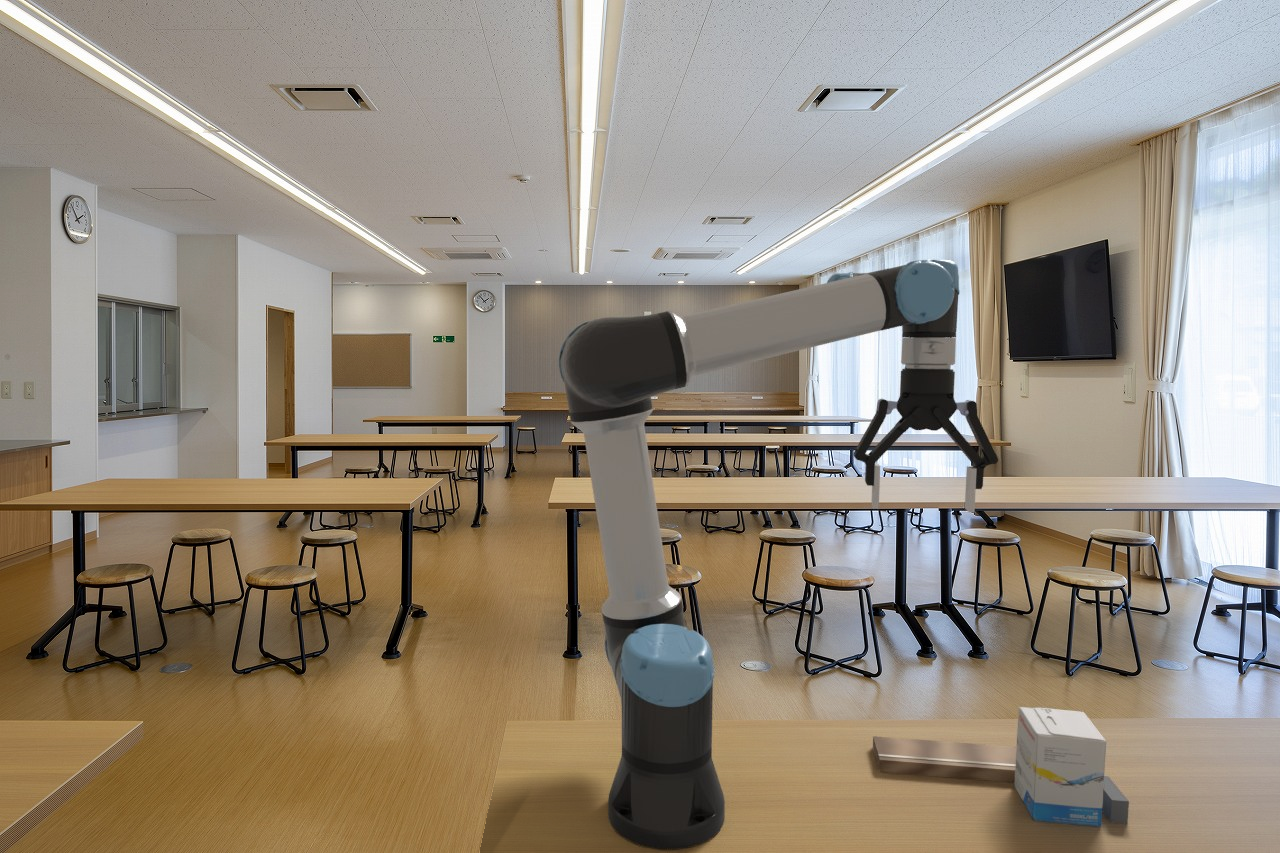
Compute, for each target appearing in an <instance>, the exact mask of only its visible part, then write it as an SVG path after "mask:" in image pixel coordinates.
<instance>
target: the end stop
mask: <svg viewBox="0 0 1280 853" xmlns="http://www.w3.org/2000/svg"><path fill="white" fill-rule="evenodd" d="M1129 804H1130V802H1129V800H1128V799H1127V796H1125V794H1123V792H1122V791H1121V790H1120V788H1119V787H1118V786H1117V785H1116V784H1115V782H1114V781H1113V780H1112V779H1111V778H1110V776H1108V775H1104V786H1103V805H1102V814H1104V815H1105V817H1106V818H1107V819H1108V821H1109V822H1110V823H1114V824H1125V825H1126V824H1129V823H1128V822H1129V820H1128V819H1129V808H1130V807H1129Z"/></svg>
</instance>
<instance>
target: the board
mask: <svg viewBox="0 0 1280 853" xmlns="http://www.w3.org/2000/svg"><path fill="white" fill-rule="evenodd" d="M1016 747H1017V746H1012V745H998V744H986V743H985V744H983V743H973V742H972V743H970V742H969V743H968V742H959V741H958V742H957V741H945V740H944V741H943V740H931V739H930V740H929V739H914V738H901V737H891V736H890V737H887V736H877V735H876V736H874V735H873V736H872V751H873V754H874V757H875V760H876V764H877V768H878V771H879V773H890V774H891V773H892V774H903V775H916V776H925V777H926V776H927V777H941V778H954V779H964V780H965V779H966V780H967V779H968V780H977V781H990V782H1001V783H1004V782H1005V783H1013V784H1014V783H1015V765H1016Z"/></svg>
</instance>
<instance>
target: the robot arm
mask: <svg viewBox="0 0 1280 853" xmlns="http://www.w3.org/2000/svg"><path fill="white" fill-rule="evenodd" d="M959 280H960V276H959V267H958V265H957V264H956V262H954V261H952V260H948V259H923V260H921V259H920V260H919V259H917V260H913V261H912V260H911V261H909V262H907V263H906V264H903V265H899V266H895V267H890V268H884V269H880V270H876V271H875V270H874V271H870V272H864V273H863V272H862V273H861V272H853V271H850V272H846V273H845V272H844V273H842V272H841V273H835V274H832V275H831V276H830V277H829V278H828V280H827V281H826V282H825V283H821V284H816V285H811V286H808V287H804V288H798V289H795V290H791V291H787V292H785V291H784V292H783V293H777V294H773V295H768V296H764V297H760V298H756V299H752V300H747V301H743V302H738V303H734V304H730V305H725V306H724V305H723V306H720V307H716V308H712V309H707V310H704V311H703V310H702V311H699V312H695V313H690V314H685V315H682V316H679V315H677V314H676V313H674V312H672V311H670V310H666V311H662V312H658V313H653V314H647V315H638V316H623V317H614V316H613V317H610V316H609V317H602V318H597V319H596V318H595V319H593V320H589V321H585V322H583V323H581V324H580V325H578V326H576V327H575V328H574V329H572V330H571V331H570V333H569V334H567V337H566V338H565V340H564V341H563V342H562V346H561V349H560V351H559V354H558V369H559V374H560V377H561V379H562V382H563V384H564V390H565V396H566V402H567V406H568V408H567V409H568V413H569V419H570V424H572V425H573V426H574V427H575V428H577V429H578V430H580V431H581V432H582V433H583V436H584V443H585V450H586V455H587V456H586V457H587V461H588V467H589V468H588V469H589V474H590V480H591V487H592V494H593V498H594V506H595V512H596V518H597V523H598V529H599V530H598V531H599V536H600V542H601V548H602V555H603V560H604V568H605V574H606V579H607V585H608V592H609V596H608V597H607V598H606V600H605V601H604V602H603V603H602V605H601V614H602V620H603V627H604V632H605V634H604V638H605V639H604V651H605V656H606V658H607V661H608V664H609V666H610V667H611V668H610V669H611V670H612V674H613V677H614V680H615V684H616V686H617V690H618V693H619V697H620V703H621V757H620V759H619V764H618V766H617V768H616V771H615V772H616V773H615V775H614V778H613V781H612V784H611V787H610V790H609V794H608V798H607V799H608V800H607V804H608V805H607V810H608V811H607V816H608V817H607V818H608V820H609V823H610V825H611V827H612V829H613V830H614V831H615V832H616V833H617V834H618V835H620V836H621V837H622V838H624V839H625V840H627V841H630V842H632V843H634V844H635V845H639V846H643V847H646V848H651V849H656V850H657V849H658V850H679V849H686V848H691V847H695V846H697V845H700V844H702V843H705V842H707V841H708V840H710V839H712V838H713V837H714V836H716V835H717V834H718V833H719V831H720V830H721V829H722V827H723V825H724V822H725V819H726V818H725V813H726V811H725V810H726V808H725V806H726V801H725V795H724V792H723V789H722V787H721V783H720V780H719V779H720V778H719V776H718V773H717V770H716V768H715V764H714V761H713V757H712V756H713V754H712V751H713V749H712V748H713V747H712V745H713V744H712V743H713V701H714V700H713V698H714V697H713V690H714V689H713V688H714V678H715V664H714V661H713V653H712V652H713V651H712V648H711V646H710V644H709V642H708V641H707V639H706V638H705V637H704V636H703V635H702V634H700V633H699V632H698V631H696V630H694V629H691V630H689V629H688V628H687V627H686V621H685V614H684V613H685V612H684V608H683V602H682V596H681V594H680V593H679V591H678V590H676V589H674V588H673V587H671V586H670V585H669V580H668V572H667V567H666V560H665V553H664V547H663V540H662V534H661V527H660V520H659V514H658V508H657V501H656V494H655V487H654V480H653V475H652V474H653V473H652V467H651V460H650V454H649V448H648V442H647V436H646V434H647V433H646V427H645V423H646V422H647V419H648V418H649V416H650V415H651V414H652V412H653V411H654V410H653V404H652V403H653V402H652V397H654V396H657V395H660V394H663V393H667V392H670V391H674V390H677V389H682V388H686V387H688V385H689V383H690V382H691V381H692V379H693V378H694V377H697V376H699V375H704V374H708V373H712V372H716V371H721V370H725V369H728V368H733V367H736V366H741V365H746V364H750V363H753V362H757V361H761V360H762V361H763V360H765V359H769V358H770V359H771V358H774V357H778V356H782V355H786V354H790V353H794V352H798V351H801V350H806V349H810V348H814V347H818V346H822V345H827V344H831V343H835V342H838V341H839V342H841V341H843V340H847V339H851V338H855V337H859V336H863V335H868V334H871V333H875V332H880V331H885V330H890V329H894V328H897V327H901V328H902V329H901V331H902V334H901V335H902V336H901V338H902V339H901V359H900V363H901V365H903V366H904V368H902V370H900V381H899V382H900V385H899V386H900V388H899V390H900V391H899V397H898V399H897V401H894V400H887V399H885V398H879V399H878V401H877V404H876V410H875V414H874V416H873V417H872V419H871V421H870V423H869V424H868V427H867V429H866V430H865V432H864V434H863V435H862V437H861V439H860V440H859V443H858V444H857V445H856V448H855V450H854V452H853V454H852V455H853V457H854V458H855V460H856V461H860V462H862V463H864V465H865V471H864V481H865V484H866V485H867V486H871V507H872V509H873V510H875V509H877V510H880V509H879V508H880V488H881V486H880V484H881V481H880V480H881V465H880V463H877V462H878V461H879V459H880V458H881V457H883V455H885V453H886V452H887V451H888V450H889V449H890V448H891V447H892V446H893V445H894V444H895V443H896V441H897V440H898V439H899V438H900V437H901V436H902V435H903V434H904V433H906V432H907V430H909V429H912V430H914V431H923V430H929V431H932V432H933V431H937V432H938V430H941V429H943V431H944V432H945V433H946V434H947V435H948V436H949V437H950V439H951V440H952V441H953V442H954V443H955V445H956V446H957V447H958V448H959V450H960V451H961V452H962V453H963V454H964V456H966V458H967V459H968V460H969V461H970V463H971V464H972V465H967V466H966V473H965V474H966V476H965V495H964V496H965V497H964V509H965V510H966V511H967V512H968V513H975V509H976V508H975V507H976V491H977V490H982V489H983V488H984V474H985V473H984V470H985V469H986V467H987V466H990V465H995V464H997V463H998V462H999V458H998V456H997V454H996V452H995V450H994V448H993V445H992V443H991V442H990V439H989V436H988V434H987V433H986V430H985V429H984V426H983V425H982V423H981V420H980V418H979V416H978V405H977V402H976V401H974V400H970V399H966V400H964V401H958V402H956V400H955V395H954V394H955V380H956V379H955V378H956V377H955V375H956V374H955V373H956V372H955V371H954V369H953V368H952V369H951V367H952V366H954V365H955V364H956V353H957V352H956V348H957V347H956V346H957V344H956V343H957V341H956V340H957V326H958V312H959V310H958V309H959V308H958V306H959V295H960V281H959ZM895 409H896V410H897V412H898V413H899V415H900V416H901V418H900V419H899V420H898V421H897V422H896V423H895V424H894V426H893V427H892V429H890V430H889V432H888V433H887V434H885V436H884V437H883V438H882V439H881V440H880V441H879V442H878V443H877V444H876V445H875V447H873V448H872V450H870V452H869V453H867V452H868V450H869V448H870V446H871V444H872V442H873V440H874V439H875V437H876V436H877V434H878V432H879V430H880V429H881V427H882V425H883V424H884V421H885V420H886V417H887V415H890V414H891V413H892V412H893V410H895ZM957 410H958V411H959V413H960V415H962V416H964V417H965V420H966V422H967V424H968V426H969V429H970V430H971V432H972V434H973V437H974V439H975V440H976V443H977V445H978V447H979V450H980V451H981V454H982V456H980V455H979V453H977V452H976V450H975V449H974V448H973V447H972V445H971V444H970V443H969V441H968V440H967V439H966V438H965V437H964V436H963V435H962V434H961V432H960V431H959V430H958V428H957V427H956V425H954V423H953V422H952V421H951V417H952V416H953V415H954V414H955V413H956V412H957Z"/></svg>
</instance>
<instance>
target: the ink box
mask: <svg viewBox="0 0 1280 853" xmlns="http://www.w3.org/2000/svg"><path fill="white" fill-rule="evenodd" d="M1016 732H1017V733H1016V746H1015V747H1016V765H1015V783H1014V782H1013V784H1014V788H1015V790H1016V791H1017V793H1018V795H1019V797H1020V799H1021V800H1022V803H1023V804H1024V806H1025V807H1026V809H1027V811H1028V812H1029V814H1030V816H1031V818H1032V819H1033V821H1034V822H1035V821H1036V822H1037V821H1039V822H1049V823H1058V824H1067V825H1069V824H1070V825H1077V826H1078V825H1079V826H1089V827H1090V826H1091V827H1102V819H1103V811H1102V805H1103V786H1104V776H1105V770H1106V769H1105V768H1106V754H1107V753H1106V752H1107V740H1106V739H1105V737H1103V735H1102V734H1101V732H1100V731H1099V730H1098V728H1097V727H1096V726H1095V725H1094V723H1093V722H1092V720H1091V719H1090V718H1089V716H1088V715H1087V714H1086V713H1085V712H1084V711H1079V710H1078V711H1077V710H1069V709H1067V710H1066V709H1057V708H1048V707H1029V706H1018V716H1017V731H1016Z"/></svg>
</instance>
